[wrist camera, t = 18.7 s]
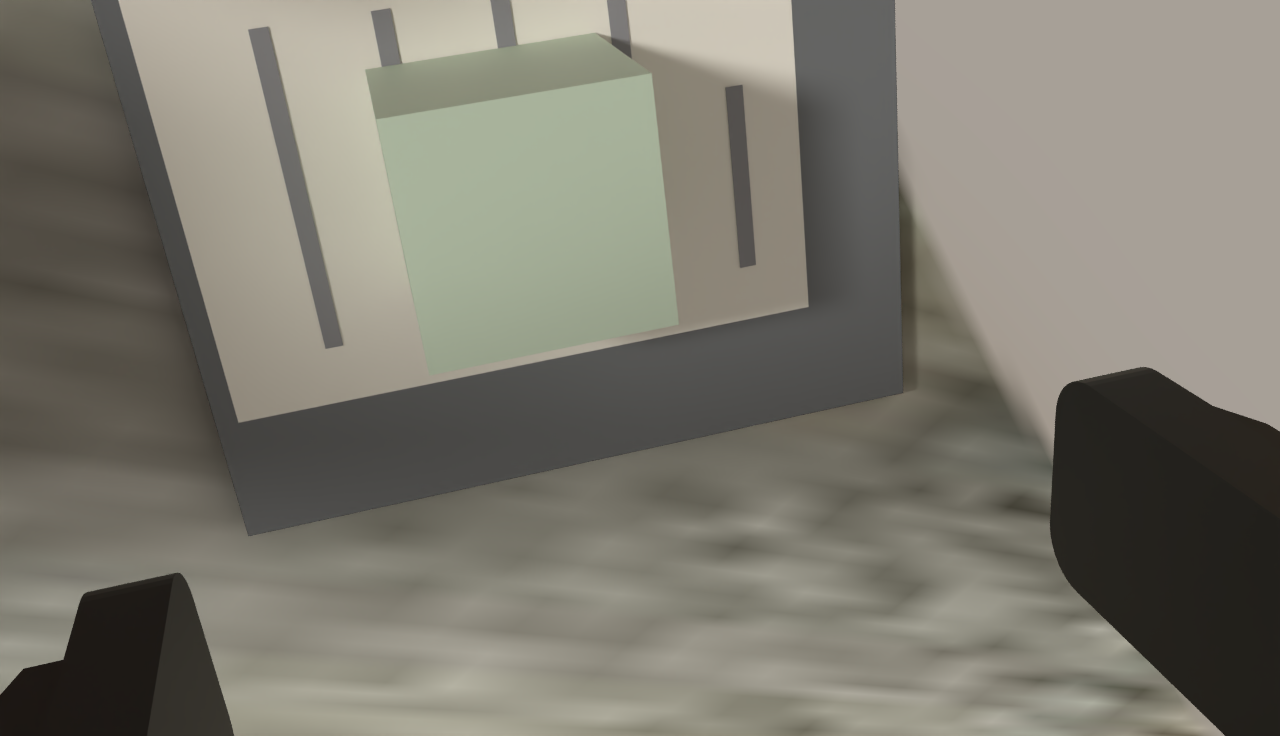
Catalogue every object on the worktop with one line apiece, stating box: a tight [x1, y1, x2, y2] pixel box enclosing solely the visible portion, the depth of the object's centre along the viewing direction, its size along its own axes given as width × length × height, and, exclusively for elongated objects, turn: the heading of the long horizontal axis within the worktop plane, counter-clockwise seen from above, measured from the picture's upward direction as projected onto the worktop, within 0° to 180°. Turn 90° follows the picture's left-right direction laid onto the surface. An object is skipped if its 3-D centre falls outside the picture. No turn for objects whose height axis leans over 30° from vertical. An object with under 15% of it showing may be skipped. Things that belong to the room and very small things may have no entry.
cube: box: [365, 33, 679, 376], centre depth 25 cm, size 5×5×5 cm
